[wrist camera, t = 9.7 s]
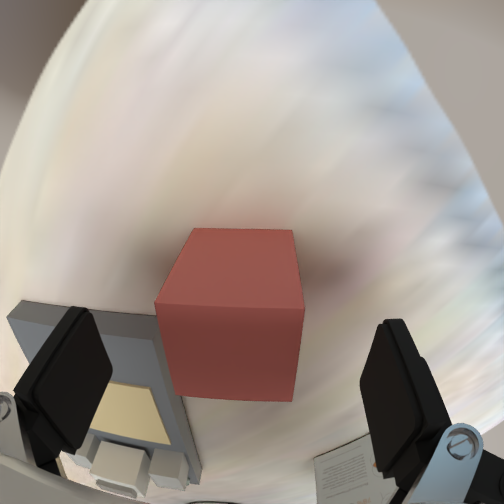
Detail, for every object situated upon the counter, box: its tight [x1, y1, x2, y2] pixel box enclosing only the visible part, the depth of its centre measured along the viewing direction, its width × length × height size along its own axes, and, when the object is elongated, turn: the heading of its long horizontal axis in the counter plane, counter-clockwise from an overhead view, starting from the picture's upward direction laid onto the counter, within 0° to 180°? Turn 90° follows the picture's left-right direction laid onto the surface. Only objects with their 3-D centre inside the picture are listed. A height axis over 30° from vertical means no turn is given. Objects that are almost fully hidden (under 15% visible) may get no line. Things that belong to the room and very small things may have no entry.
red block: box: [154, 228, 305, 402], centre depth 13 cm, size 4×4×6 cm
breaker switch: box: [89, 441, 151, 498], centre depth 20 cm, size 3×4×4 cm
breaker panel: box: [7, 301, 202, 491], centre depth 20 cm, size 20×11×4 cm, turn 0°
